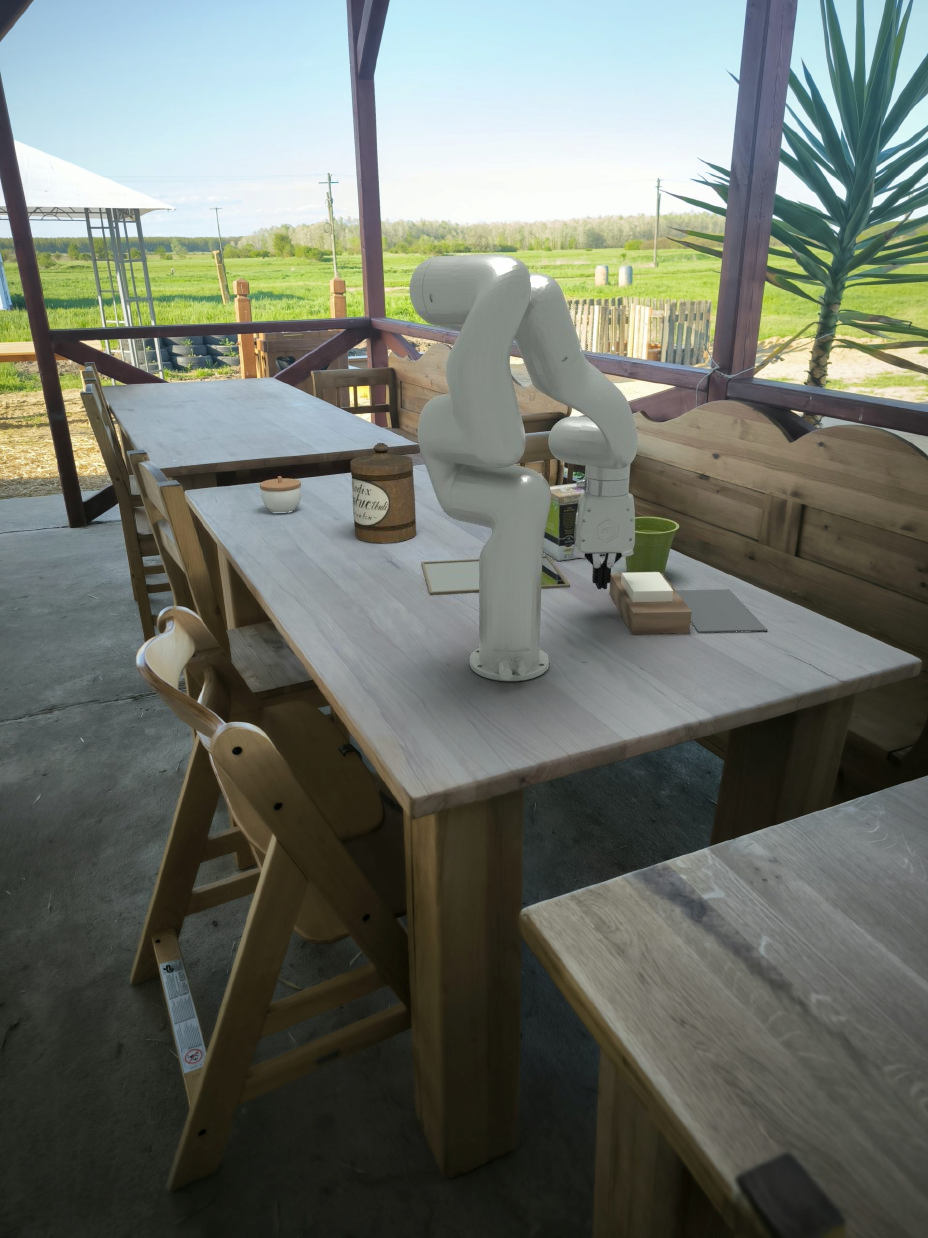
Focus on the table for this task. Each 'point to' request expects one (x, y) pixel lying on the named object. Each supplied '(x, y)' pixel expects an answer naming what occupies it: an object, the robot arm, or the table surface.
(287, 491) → the lidded jar
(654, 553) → the plant pot
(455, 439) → the robot arm
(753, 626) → the mat
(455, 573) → the picture frame
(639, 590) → the cream white slab
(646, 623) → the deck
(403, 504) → the wooden container
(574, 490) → the tea box
